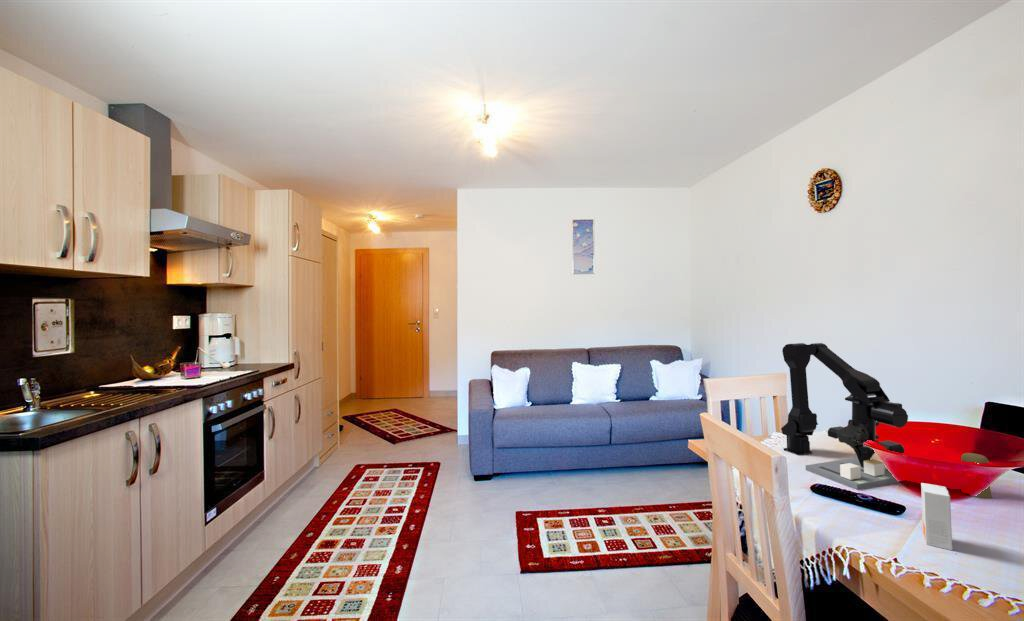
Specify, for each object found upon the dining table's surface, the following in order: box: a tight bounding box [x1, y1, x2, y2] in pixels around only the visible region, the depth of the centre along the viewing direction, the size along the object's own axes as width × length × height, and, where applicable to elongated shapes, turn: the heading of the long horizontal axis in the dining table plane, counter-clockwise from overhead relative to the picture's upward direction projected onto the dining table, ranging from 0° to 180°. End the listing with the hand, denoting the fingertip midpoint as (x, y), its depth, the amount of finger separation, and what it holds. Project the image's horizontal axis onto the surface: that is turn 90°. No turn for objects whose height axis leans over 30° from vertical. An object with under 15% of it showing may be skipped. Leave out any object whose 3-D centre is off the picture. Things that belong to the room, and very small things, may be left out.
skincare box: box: [920, 482, 953, 551], centre depth 94 cm, size 6×4×12 cm
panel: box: [805, 456, 899, 491], centre depth 132 cm, size 16×24×2 cm, turn 105°
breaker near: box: [840, 463, 861, 480], centre depth 126 cm, size 3×4×4 cm
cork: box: [960, 452, 993, 500], centre depth 117 cm, size 6×6×11 cm
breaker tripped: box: [864, 458, 885, 476], centre depth 128 cm, size 3×4×4 cm
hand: (863, 467), depth 131 cm, fingers closed
